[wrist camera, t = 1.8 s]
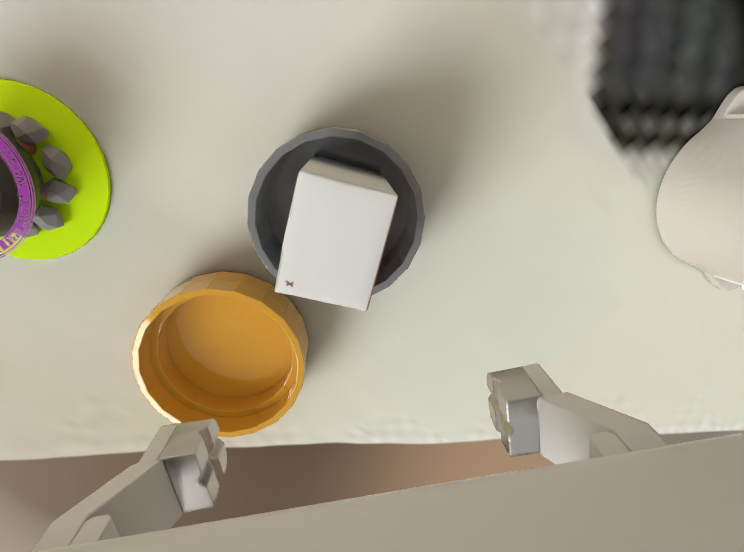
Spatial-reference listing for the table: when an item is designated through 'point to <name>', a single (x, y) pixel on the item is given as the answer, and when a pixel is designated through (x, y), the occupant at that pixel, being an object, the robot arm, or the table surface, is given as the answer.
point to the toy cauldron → (47, 176)
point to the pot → (351, 148)
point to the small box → (336, 233)
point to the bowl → (222, 353)
